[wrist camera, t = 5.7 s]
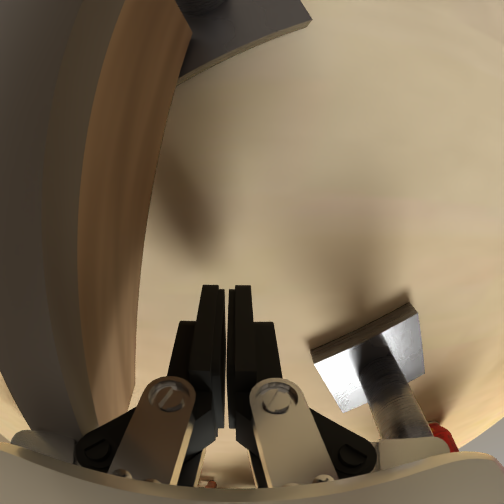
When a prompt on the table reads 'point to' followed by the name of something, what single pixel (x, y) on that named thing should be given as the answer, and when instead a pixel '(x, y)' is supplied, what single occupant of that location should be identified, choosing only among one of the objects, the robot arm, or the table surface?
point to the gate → (78, 196)
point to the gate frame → (372, 335)
